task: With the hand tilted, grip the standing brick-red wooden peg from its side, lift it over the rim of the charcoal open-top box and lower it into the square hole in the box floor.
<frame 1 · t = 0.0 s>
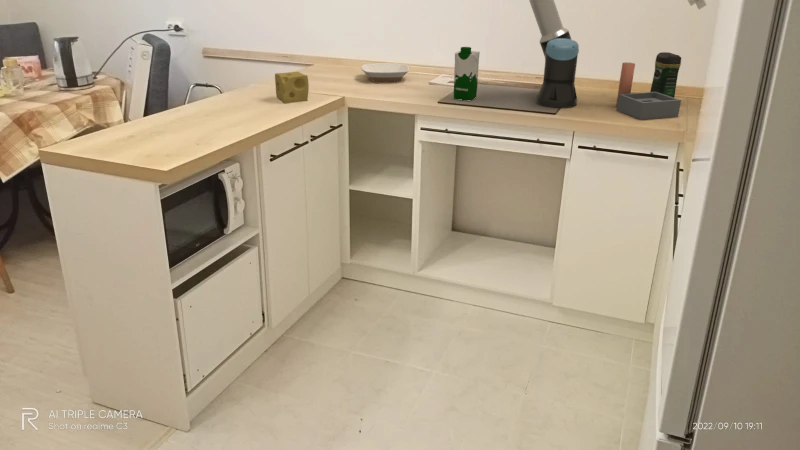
hand: (698, 5, 235), 36 cm above the table, tool tilted 35°, fingers open, 13 cm apart
bowl: (385, 79, 286), on the table
milk carton: (465, 99, 252), on the table
coffee jar: (661, 101, 251), on the table
peg: (622, 106, 242), on the table
box: (646, 113, 233), on the table
cheese: (292, 100, 249), on the table
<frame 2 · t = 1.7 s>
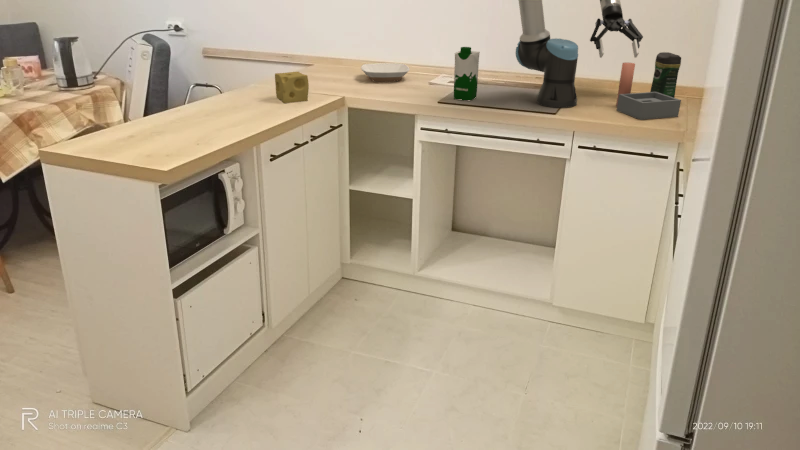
hand: (619, 55, 245), 17 cm above the table, tool tilted 45°, fingers open, 13 cm apart
nothing on the table moved.
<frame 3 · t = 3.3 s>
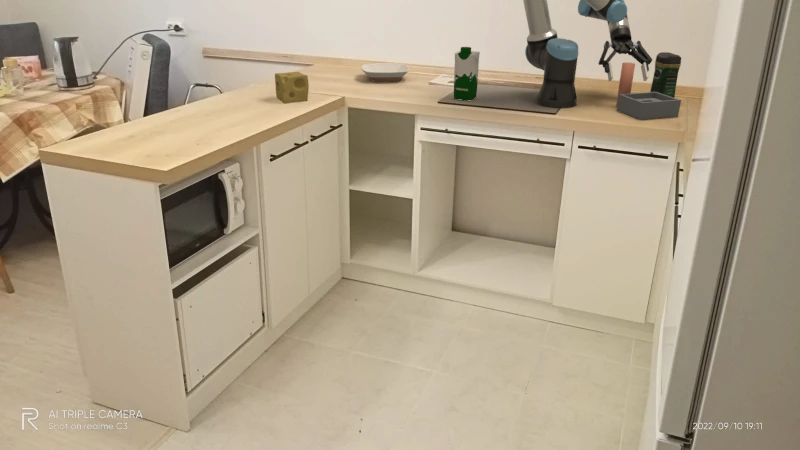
hand: (628, 79, 241), 10 cm above the table, tool tilted 45°, fingers open, 13 cm apart
nothing on the table moved.
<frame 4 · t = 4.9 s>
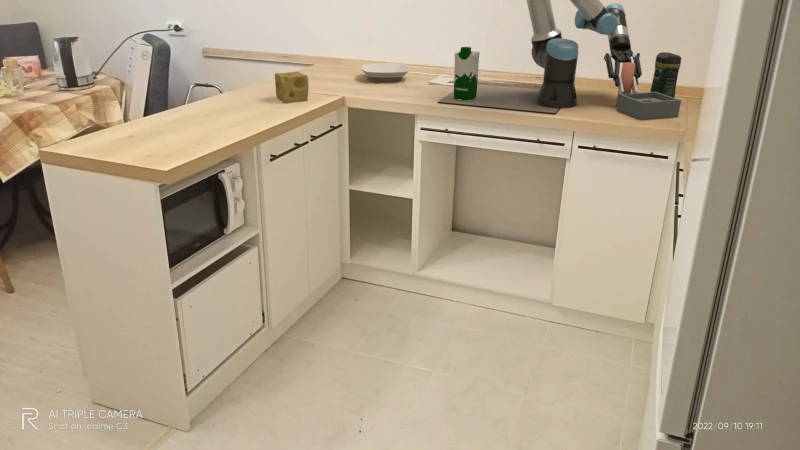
hand: (628, 93, 237), 6 cm above the table, tool tilted 45°, fingers closed on peg, 4 cm apart
peg: (622, 106, 242), on the table, touching gripper
everything else where it was.
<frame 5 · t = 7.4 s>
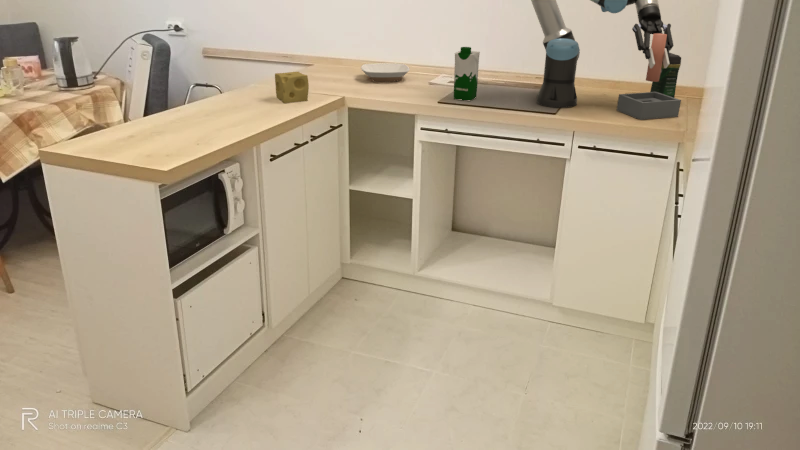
hand: (659, 65, 222), 18 cm above the table, tool tilted 45°, fingers closed on peg, 4 cm apart
peg: (652, 80, 228), point 12 cm above the table, touching gripper
everything else where it was.
when the fingers open (8 cm above the table, at t = 9.9 s): peg drops 2 cm, resting in box.
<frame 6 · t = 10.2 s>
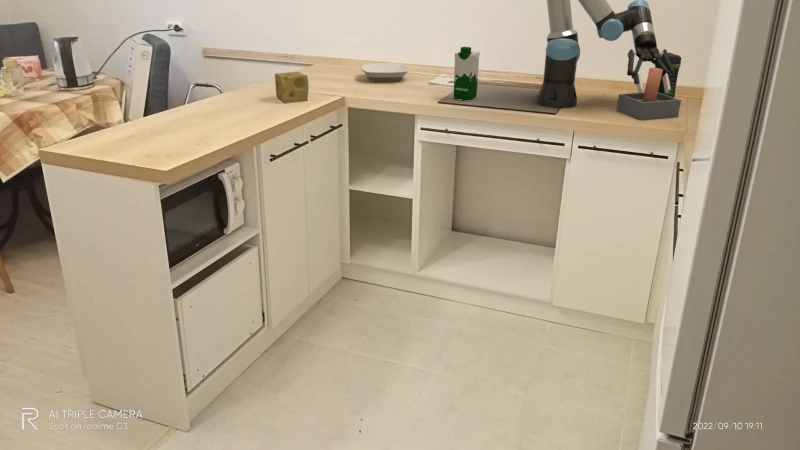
hand: (654, 91, 226), 9 cm above the table, tool tilted 45°, fingers open, 9 cm apart
peg: (646, 113, 233), resting in box
everything else where it was.
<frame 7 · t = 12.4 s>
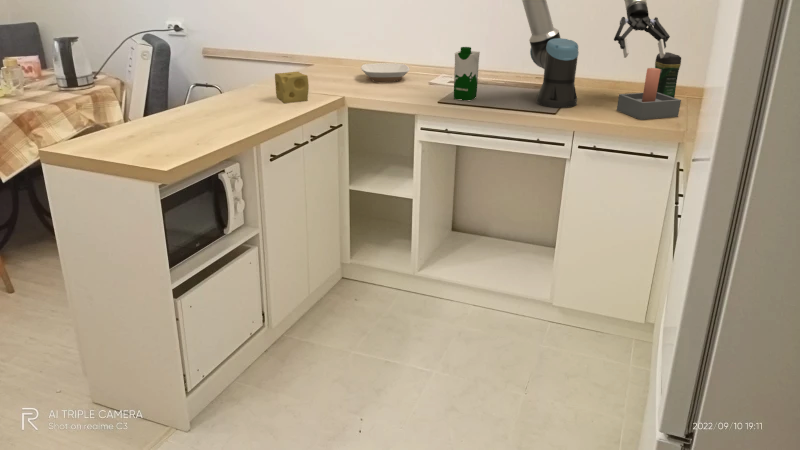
hand: (644, 55, 234), 19 cm above the table, tool tilted 45°, fingers open, 13 cm apart
nothing on the table moved.
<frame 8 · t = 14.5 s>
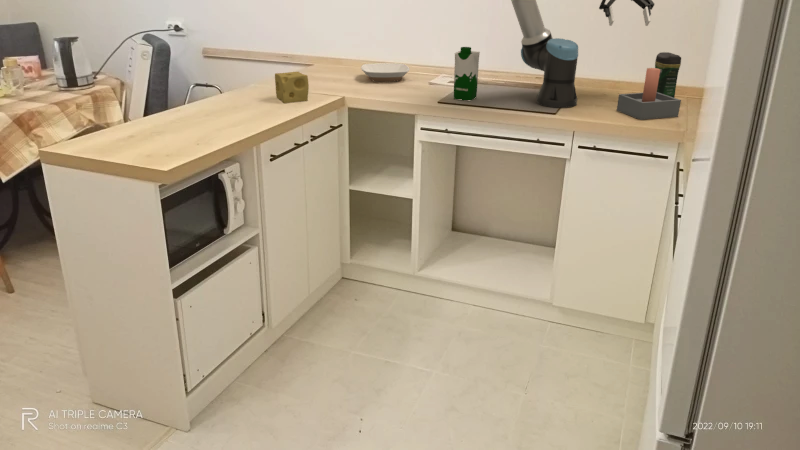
hand: (629, 23, 235), 30 cm above the table, tool tilted 45°, fingers open, 13 cm apart
nothing on the table moved.
at the end: peg 0.1 cm off-centre on the box, point 0.0 cm above the box's base; peg tilted 1°; the gripper is holding nothing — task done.
